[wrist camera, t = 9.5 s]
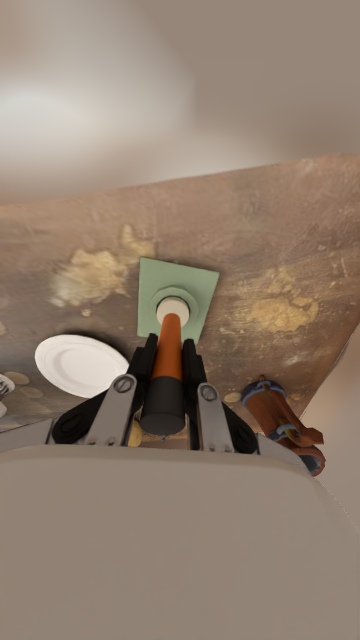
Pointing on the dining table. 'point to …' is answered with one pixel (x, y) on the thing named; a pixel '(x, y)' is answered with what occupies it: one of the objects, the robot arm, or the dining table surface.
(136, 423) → the potato
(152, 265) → the push button block
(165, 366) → the marker
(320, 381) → the dining table surface
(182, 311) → the circle pad
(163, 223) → the dining table surface
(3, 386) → the decorative candle
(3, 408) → the container
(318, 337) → the dining table surface
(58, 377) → the plate
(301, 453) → the mug
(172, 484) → the robot arm
